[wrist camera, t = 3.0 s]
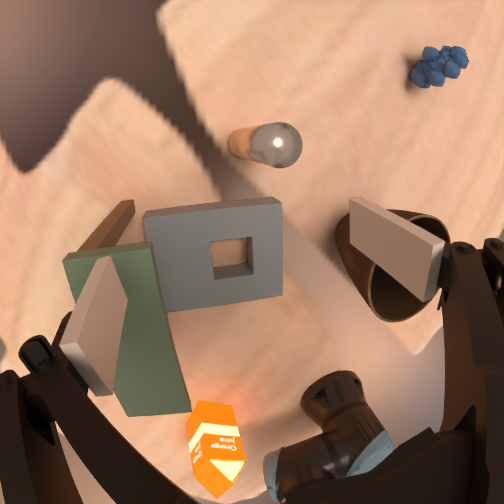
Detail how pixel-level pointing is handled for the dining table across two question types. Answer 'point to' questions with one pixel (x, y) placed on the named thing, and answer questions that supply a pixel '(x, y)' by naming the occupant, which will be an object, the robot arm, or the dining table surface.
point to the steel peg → (267, 144)
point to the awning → (135, 319)
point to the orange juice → (215, 446)
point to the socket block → (199, 252)
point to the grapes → (439, 66)
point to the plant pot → (378, 280)
